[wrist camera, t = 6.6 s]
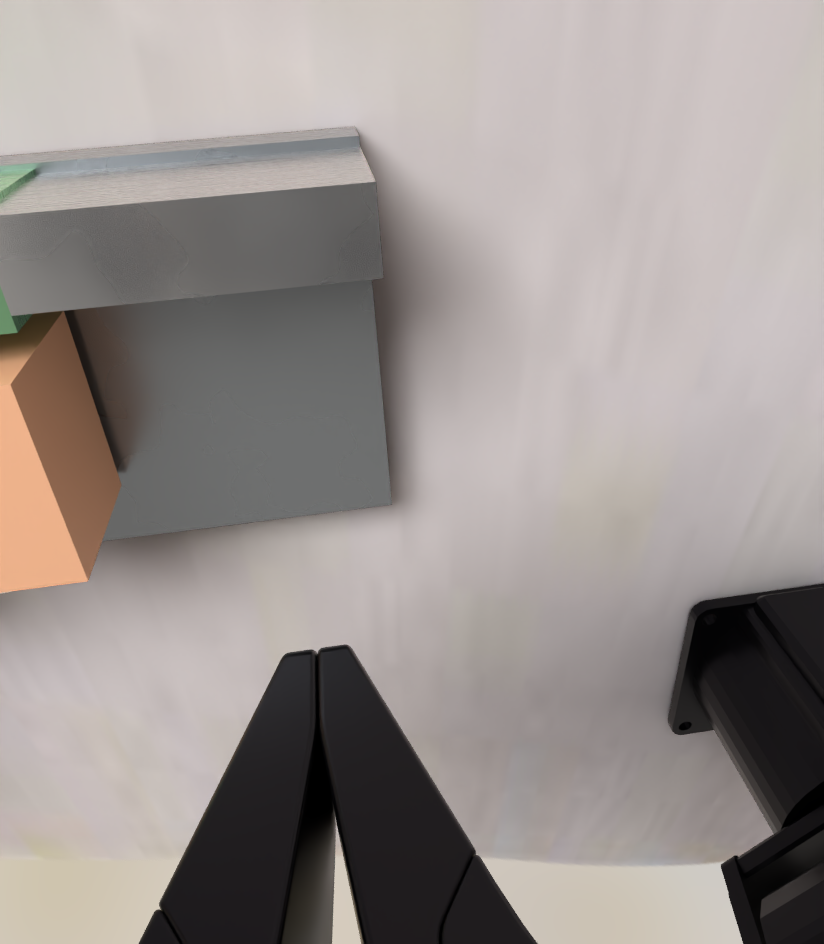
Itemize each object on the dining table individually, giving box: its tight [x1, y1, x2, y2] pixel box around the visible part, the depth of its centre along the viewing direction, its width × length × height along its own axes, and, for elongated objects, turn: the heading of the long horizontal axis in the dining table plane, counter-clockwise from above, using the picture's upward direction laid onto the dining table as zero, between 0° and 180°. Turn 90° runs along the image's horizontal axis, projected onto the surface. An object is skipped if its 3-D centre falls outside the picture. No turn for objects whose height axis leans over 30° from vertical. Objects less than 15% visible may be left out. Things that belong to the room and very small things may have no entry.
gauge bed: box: [0, 127, 392, 541], centre depth 16 cm, size 9×14×4 cm, turn 93°
